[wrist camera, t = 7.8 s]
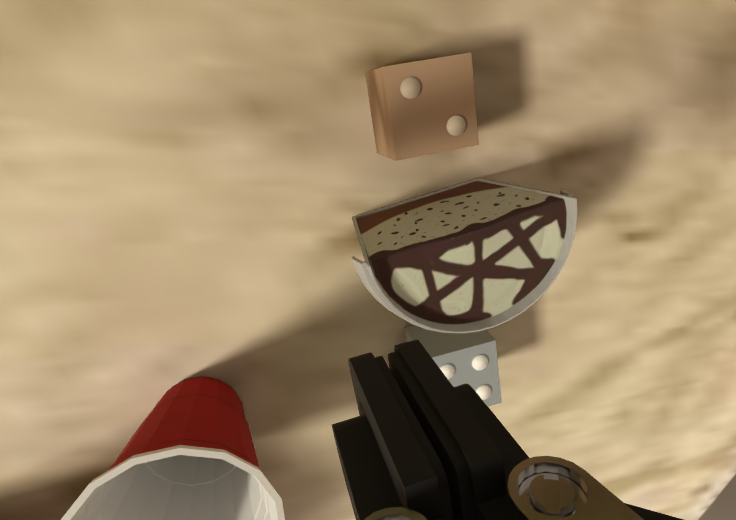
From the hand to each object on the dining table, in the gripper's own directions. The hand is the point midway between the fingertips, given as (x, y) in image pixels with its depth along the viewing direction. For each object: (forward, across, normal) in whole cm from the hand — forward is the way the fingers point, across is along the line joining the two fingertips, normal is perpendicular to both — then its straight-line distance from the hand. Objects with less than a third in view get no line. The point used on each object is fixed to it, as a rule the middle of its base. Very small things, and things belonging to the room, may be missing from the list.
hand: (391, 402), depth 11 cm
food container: (+22, -9, +4) cm, 24 cm away
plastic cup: (+22, +9, +13) cm, 28 cm away
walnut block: (+22, -9, -5) cm, 24 cm away
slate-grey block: (+22, -9, +13) cm, 27 cm away
